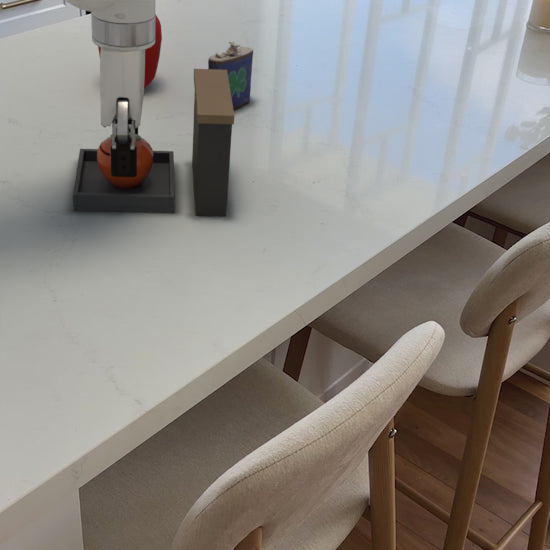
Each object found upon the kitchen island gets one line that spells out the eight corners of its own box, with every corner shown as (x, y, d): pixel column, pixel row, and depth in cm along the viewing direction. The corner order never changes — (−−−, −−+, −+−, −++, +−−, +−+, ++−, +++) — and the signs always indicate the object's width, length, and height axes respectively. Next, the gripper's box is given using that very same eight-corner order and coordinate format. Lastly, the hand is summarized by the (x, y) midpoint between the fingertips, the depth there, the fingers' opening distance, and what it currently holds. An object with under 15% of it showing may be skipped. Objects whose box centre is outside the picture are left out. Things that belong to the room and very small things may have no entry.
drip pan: (73, 211, 112) (72, 194, 111) (80, 164, 123) (80, 148, 121) (174, 212, 114) (174, 196, 113) (173, 166, 124) (173, 151, 123)
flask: (242, 97, 146) (246, 33, 140) (255, 103, 145) (260, 39, 138) (202, 112, 140) (205, 46, 134) (215, 118, 139) (219, 52, 132)
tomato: (90, 172, 119) (88, 118, 115) (144, 166, 122) (144, 112, 117) (105, 199, 114) (104, 143, 109) (161, 192, 116) (162, 136, 112)
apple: (94, 74, 149) (92, -7, 141) (155, 73, 151) (156, -7, 144) (100, 100, 140) (98, 15, 133) (165, 98, 143) (166, 15, 135)
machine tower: (193, 216, 114) (197, 114, 106) (190, 164, 125) (193, 68, 117) (228, 217, 114) (234, 115, 106) (221, 164, 126) (227, 69, 118)
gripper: (95, 3, 113) (99, 130, 123) (86, 54, 98) (91, 193, 108) (155, 6, 114) (154, 132, 124) (155, 57, 99) (153, 194, 109)
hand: (125, 159), depth 116 cm, fingers closed on tomato, 7 cm apart
